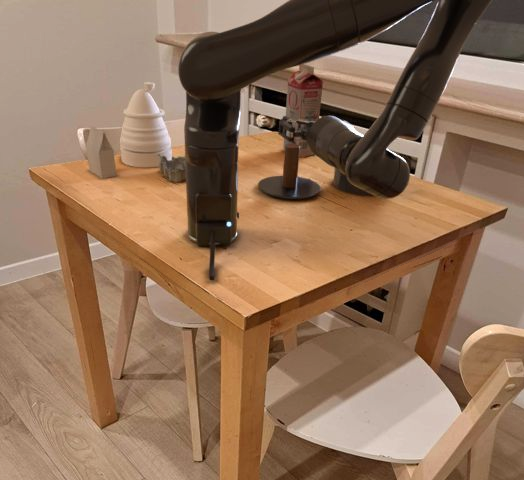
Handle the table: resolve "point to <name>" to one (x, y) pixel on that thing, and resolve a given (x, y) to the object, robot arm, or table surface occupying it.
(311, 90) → the milk carton
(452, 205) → the table surface
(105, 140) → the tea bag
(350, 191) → the pot
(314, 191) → the lid
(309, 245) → the table surface
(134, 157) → the honey pot
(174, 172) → the egg carton
